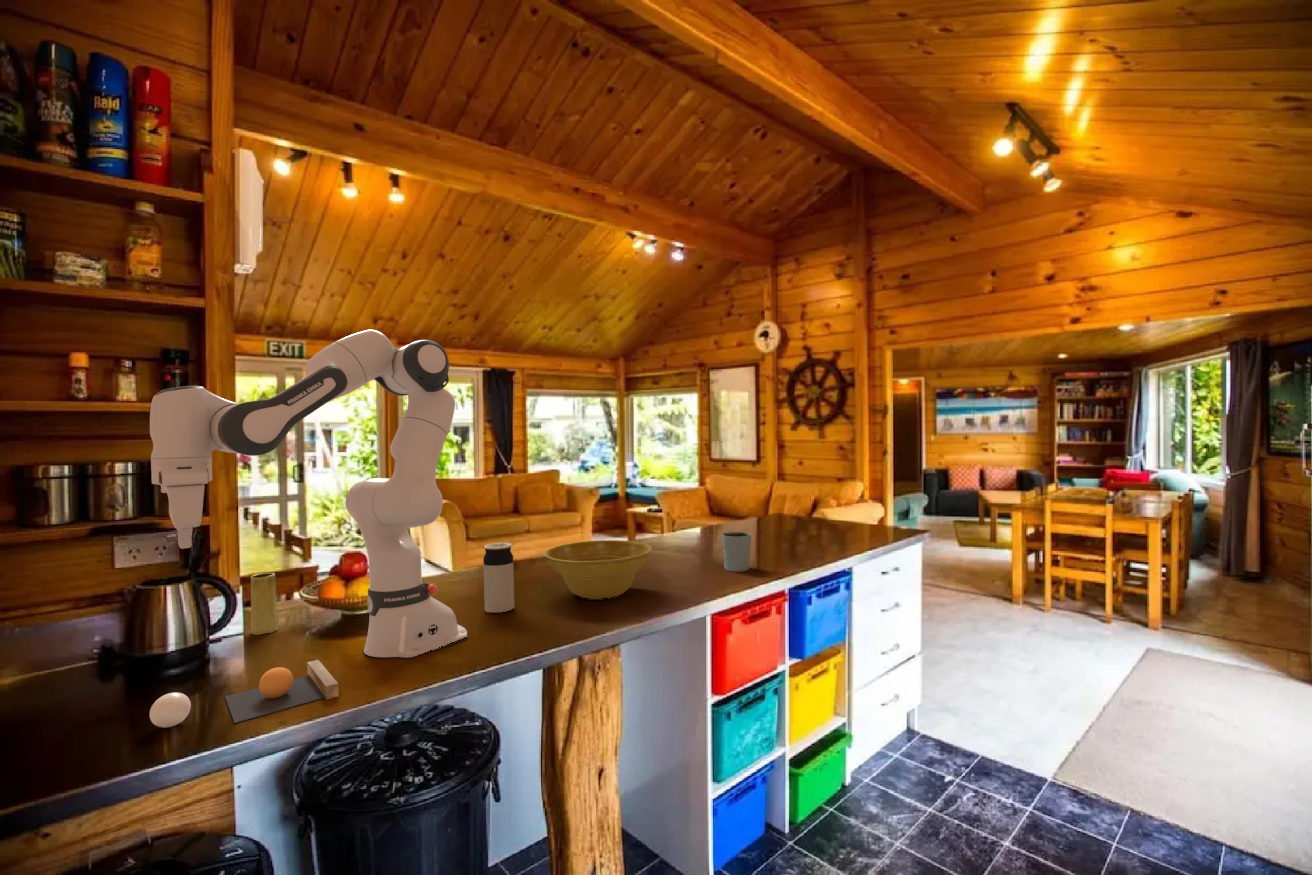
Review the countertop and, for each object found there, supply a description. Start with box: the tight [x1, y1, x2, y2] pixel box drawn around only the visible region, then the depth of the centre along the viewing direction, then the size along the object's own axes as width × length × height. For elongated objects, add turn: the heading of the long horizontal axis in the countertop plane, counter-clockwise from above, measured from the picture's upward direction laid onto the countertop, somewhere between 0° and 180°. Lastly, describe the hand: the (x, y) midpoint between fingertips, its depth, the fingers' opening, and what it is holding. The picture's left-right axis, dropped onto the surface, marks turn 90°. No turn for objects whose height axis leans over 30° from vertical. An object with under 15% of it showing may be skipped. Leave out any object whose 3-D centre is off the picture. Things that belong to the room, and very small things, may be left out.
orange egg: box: [258, 666, 294, 699], centre depth 112 cm, size 6×6×6 cm
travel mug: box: [482, 542, 515, 613], centre depth 164 cm, size 8×8×18 cm
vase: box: [250, 572, 280, 636], centre depth 151 cm, size 6×6×14 cm
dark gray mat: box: [224, 674, 326, 725], centre depth 112 cm, size 14×14×1 cm
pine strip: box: [306, 659, 339, 701], centre depth 117 cm, size 2×16×2 cm, turn 41°
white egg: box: [149, 692, 192, 729], centre depth 102 cm, size 6×6×6 cm
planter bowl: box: [543, 539, 653, 600], centre depth 178 cm, size 32×32×13 cm
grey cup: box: [721, 531, 752, 573], centre depth 206 cm, size 10×10×12 cm
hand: (185, 547), depth 110 cm, fingers closed
